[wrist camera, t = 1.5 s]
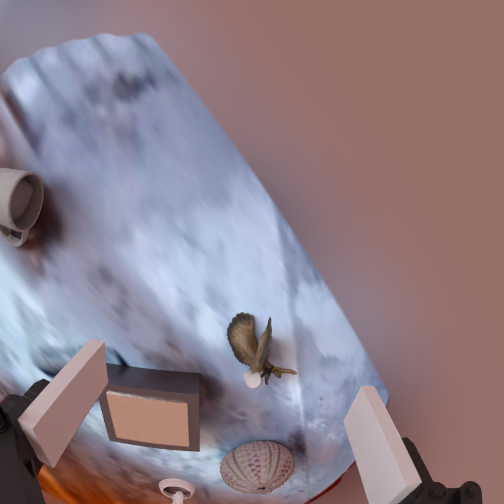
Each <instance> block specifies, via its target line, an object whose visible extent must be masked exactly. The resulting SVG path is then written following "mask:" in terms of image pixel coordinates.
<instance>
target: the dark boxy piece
mask: <svg viewBox="0 0 504 504" xmlns="http://www.w3.org/2000/svg"><path fill="white" fill-rule="evenodd" d="M106 367H107V376H108V384H107V385H106V387H105V388H104V390H103V391H102V393H101V394H100V396H99V397H98V398H99V402H100V406H101V410H102V414H103V418H104V422H105V426H106V429H107V433H108V436H109V439H110V441H115V442H120V443H126V444H132V445H138V446H145V447H152V448H160V449H169V450H181V451H196V452H200V429H199V385H200V373H187V372H175V371H164V370H154V369H145V368H137V367H130V366H123V365H116V364H110V363H106Z"/></svg>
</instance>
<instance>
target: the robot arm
mask: <svg viewBox="0 0 504 504" xmlns="http://www.w3.org/2000/svg"><path fill="white" fill-rule="evenodd" d="M107 384H108V376H107V367H106V357H105V346H104V342H102V341H99V340H96V339H93V338H91V339H90V340H89V341H88V342H87V343H86V344H85V345H84V346H83V347H82V348H81V350H80V351H79V352H78V353H77V354H76V355H75V356H74V357H73V358H72V359H71V360H70V361H69V362H68V363H67V364H66V365H65V367H64V368H63V369H62V370H61V371H60V372H59V373H58V374H57V375H56V376H55V377H54V379H53V380H52V381H51V382H49V381H47V380H45V379H42V380H40V381H38V382H36V383H34V384H33V385H32V386H31V387H30V388H29V389H28V391H27V392H26V393H25V394H24V396H22V397H20V396H17V395H7V396H6V397H5V398H4V399H3V400H2V401H1V403H0V504H45V501H44V498H43V495H42V491H41V488H40V485H39V481H38V477H37V476H38V474H39V471H40V469H41V467H42V466H43V465H44V464H47V465H48V466H50V467H52V468H54V467H55V465H56V463H57V462H58V460H59V458H60V457H61V455H62V454H63V452H64V450H65V449H66V447H67V445H68V444H69V442H70V441H71V439H72V437H73V436H74V434H75V433H76V431H77V429H78V428H79V426H80V425H81V423H82V422H83V420H84V419H85V417H86V415H87V414H88V412H89V411H90V409H91V408H92V406H93V405H94V403H95V402H96V400H97V399H98V397H99V396H100V394H101V393H102V391H103V390H104V388H105V387H106V385H107ZM343 423H344V426H345V429H346V432H347V435H348V438H349V441H350V444H351V447H352V450H353V453H354V457H355V460H356V463H357V466H358V469H359V472H360V475H361V479H362V482H363V485H364V489H365V492H366V495H367V499H368V502H369V504H482V493H481V488H480V486H479V485H478V484H477V483H475V482H473V481H467V482H466V483H464V484H463V485H462V486H461V487H460V488H446V487H445V486H444V485H443V484H441V483H439V482H433V480H432V478H431V476H430V474H429V472H428V470H427V468H426V466H425V464H424V462H423V460H422V459H421V456H420V455H419V453H418V451H417V449H416V447H415V445H414V444H413V442H411V441H410V440H409V439H408V438H407V437H406V438H401V437H400V435H399V433H398V431H397V430H396V427H395V425H394V423H393V422H392V419H391V417H390V416H389V414H388V412H387V410H386V408H385V406H384V404H383V402H382V400H381V398H380V396H379V394H378V393H377V391H376V389H375V387H374V386H361V388H360V390H359V392H358V394H357V396H356V398H355V400H354V402H353V404H352V406H351V408H350V410H349V412H348V413H347V415H346V417H345V419H344V421H343Z"/></svg>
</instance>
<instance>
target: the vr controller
mask: <svg viewBox="0 0 504 504" xmlns="http://www.w3.org/2000/svg"><path fill="white" fill-rule="evenodd" d="M170 486H176V487H182V488H185V489H187V490H188V491H190V493H189V494H186V495H183V492H180V491H177V492H176V494H172V493H169V492H166V491H165V490H163V489H164V488H166V487H170ZM159 488H160V490H161V492H162V493H163V494H164V495H165V496H167V497H170V498H172V499H173V502H172V503H171V504H183V499H188V498H190V497H191V496H192V495H193V494H194V492H195V490H196V489H195V486H194V485H193V484H191V483H190V482H188V481H185V480H181V479H164V480H162V481H160V482H159Z"/></svg>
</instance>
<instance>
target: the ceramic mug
mask: <svg viewBox="0 0 504 504" xmlns="http://www.w3.org/2000/svg"><path fill="white" fill-rule="evenodd" d="M43 197H44V188H43V183H42V180H41V178H40V177H39V175H37V174H36V173H34V172H31V171H23V170H15V169H8V168H0V233H1V235H2V236H3V238H4V239H5V240H6V242H8V243H9V244H10V245H12V246H14V247H19V246H21V245H22V244H23V243H24V242H25V241H26V240H27V239H28V236H29V229H30V228H31V227H32V226H33V225H34V224H35V222H36V221H37V219H38V217H39V214H40V211H41V208H42V204H43ZM7 227H8V228H10V229H12V230H15V231H17V232H22V238H21V239H18V238H16V237H14V236H13V235H11V234H10V232H9V231H8V229H7Z"/></svg>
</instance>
